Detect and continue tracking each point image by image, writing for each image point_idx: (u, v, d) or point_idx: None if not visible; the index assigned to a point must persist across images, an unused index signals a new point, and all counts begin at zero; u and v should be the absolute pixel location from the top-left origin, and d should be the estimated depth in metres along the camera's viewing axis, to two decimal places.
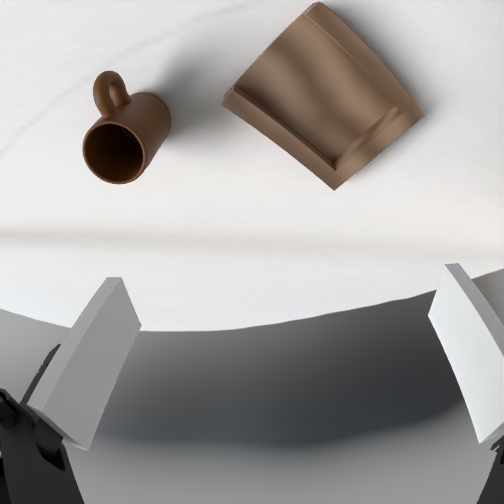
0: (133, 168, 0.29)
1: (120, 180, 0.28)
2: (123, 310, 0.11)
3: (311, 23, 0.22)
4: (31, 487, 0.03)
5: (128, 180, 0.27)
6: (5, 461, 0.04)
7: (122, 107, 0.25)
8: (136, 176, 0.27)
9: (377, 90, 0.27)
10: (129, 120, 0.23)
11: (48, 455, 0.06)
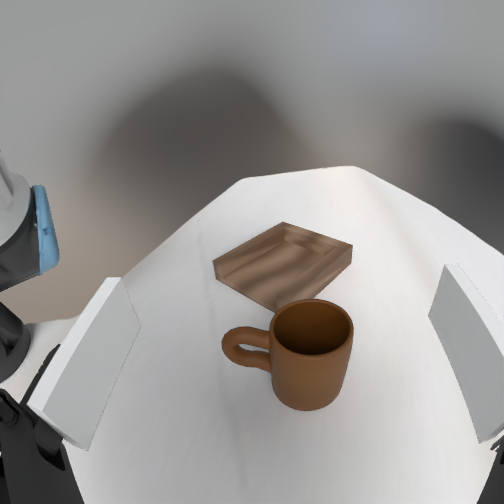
0: (345, 338, 0.26)
1: (349, 328, 0.24)
2: (123, 310, 0.11)
3: (230, 274, 0.46)
4: (31, 487, 0.03)
5: (346, 316, 0.25)
6: (4, 461, 0.04)
7: None
8: (340, 309, 0.26)
9: (276, 247, 0.52)
10: None
11: (48, 455, 0.06)
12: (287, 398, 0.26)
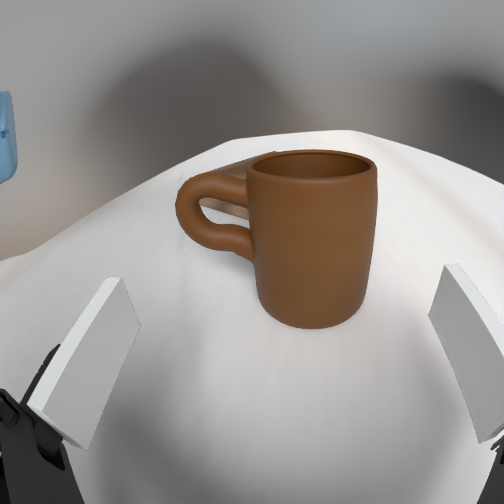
0: None
1: (369, 167, 0.15)
2: (123, 310, 0.11)
3: None
4: (31, 487, 0.03)
5: (362, 157, 0.16)
6: (4, 461, 0.04)
7: None
8: (351, 154, 0.17)
9: None
10: None
11: (48, 455, 0.06)
12: (280, 301, 0.17)
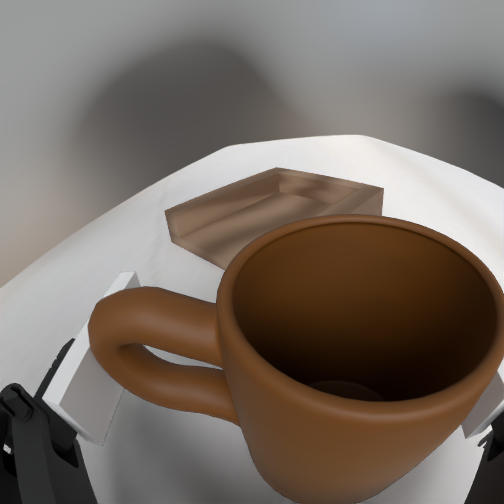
0: (448, 324, 0.08)
1: (481, 282, 0.06)
2: None
3: (192, 233, 0.28)
4: (44, 485, 0.04)
5: (463, 250, 0.07)
6: (16, 457, 0.04)
7: None
8: (438, 234, 0.08)
9: (266, 199, 0.34)
10: None
11: (61, 451, 0.06)
12: (284, 491, 0.08)
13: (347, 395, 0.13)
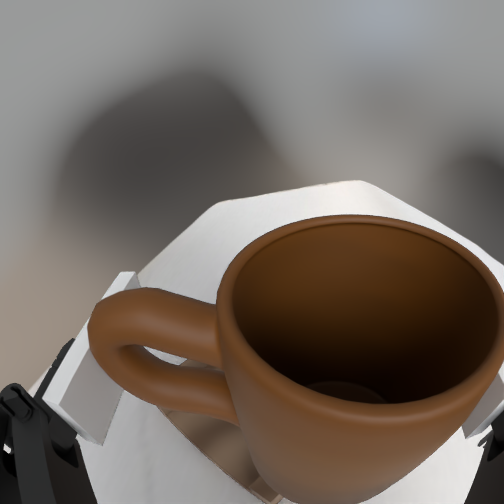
0: (449, 324, 0.08)
1: (482, 283, 0.06)
2: None
3: None
4: (43, 485, 0.04)
5: (464, 251, 0.07)
6: (17, 457, 0.04)
7: None
8: (439, 235, 0.08)
9: None
10: None
11: (61, 451, 0.06)
12: (284, 492, 0.07)
13: (347, 396, 0.13)
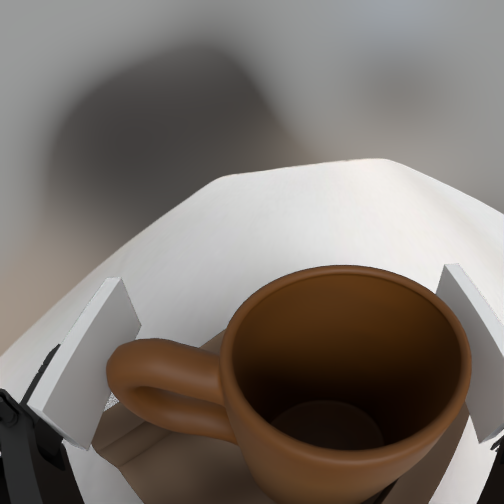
0: (425, 364, 0.09)
1: (453, 337, 0.07)
2: (123, 310, 0.11)
3: (137, 459, 0.12)
4: (31, 487, 0.03)
5: (441, 305, 0.08)
6: (5, 461, 0.04)
7: None
8: (420, 287, 0.09)
9: None
10: None
11: (48, 455, 0.06)
12: (278, 501, 0.08)
13: (337, 414, 0.14)
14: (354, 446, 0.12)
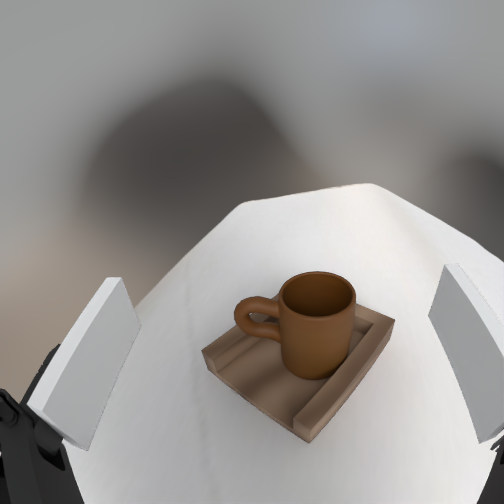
0: None
1: (351, 294, 0.26)
2: (123, 310, 0.11)
3: (227, 367, 0.32)
4: (31, 487, 0.03)
5: (349, 284, 0.27)
6: (5, 461, 0.04)
7: None
8: (343, 279, 0.28)
9: None
10: None
11: (48, 455, 0.06)
12: (296, 367, 0.28)
13: None
14: None
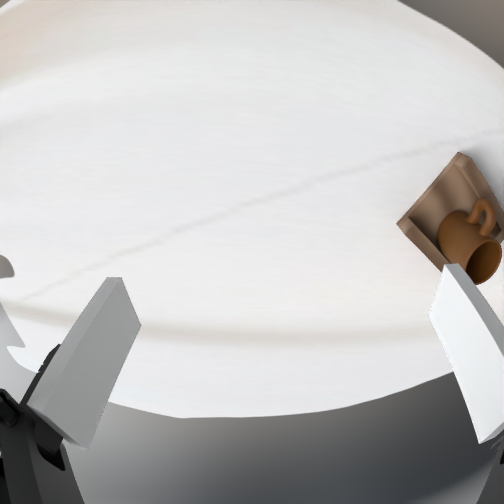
0: (471, 272, 0.33)
1: (475, 282, 0.32)
2: (123, 310, 0.11)
3: (457, 170, 0.33)
4: (31, 487, 0.03)
5: (481, 282, 0.31)
6: (5, 461, 0.04)
7: (481, 227, 0.31)
8: (487, 279, 0.31)
9: None
10: None
11: (48, 455, 0.06)
12: (448, 225, 0.35)
13: None
14: None
